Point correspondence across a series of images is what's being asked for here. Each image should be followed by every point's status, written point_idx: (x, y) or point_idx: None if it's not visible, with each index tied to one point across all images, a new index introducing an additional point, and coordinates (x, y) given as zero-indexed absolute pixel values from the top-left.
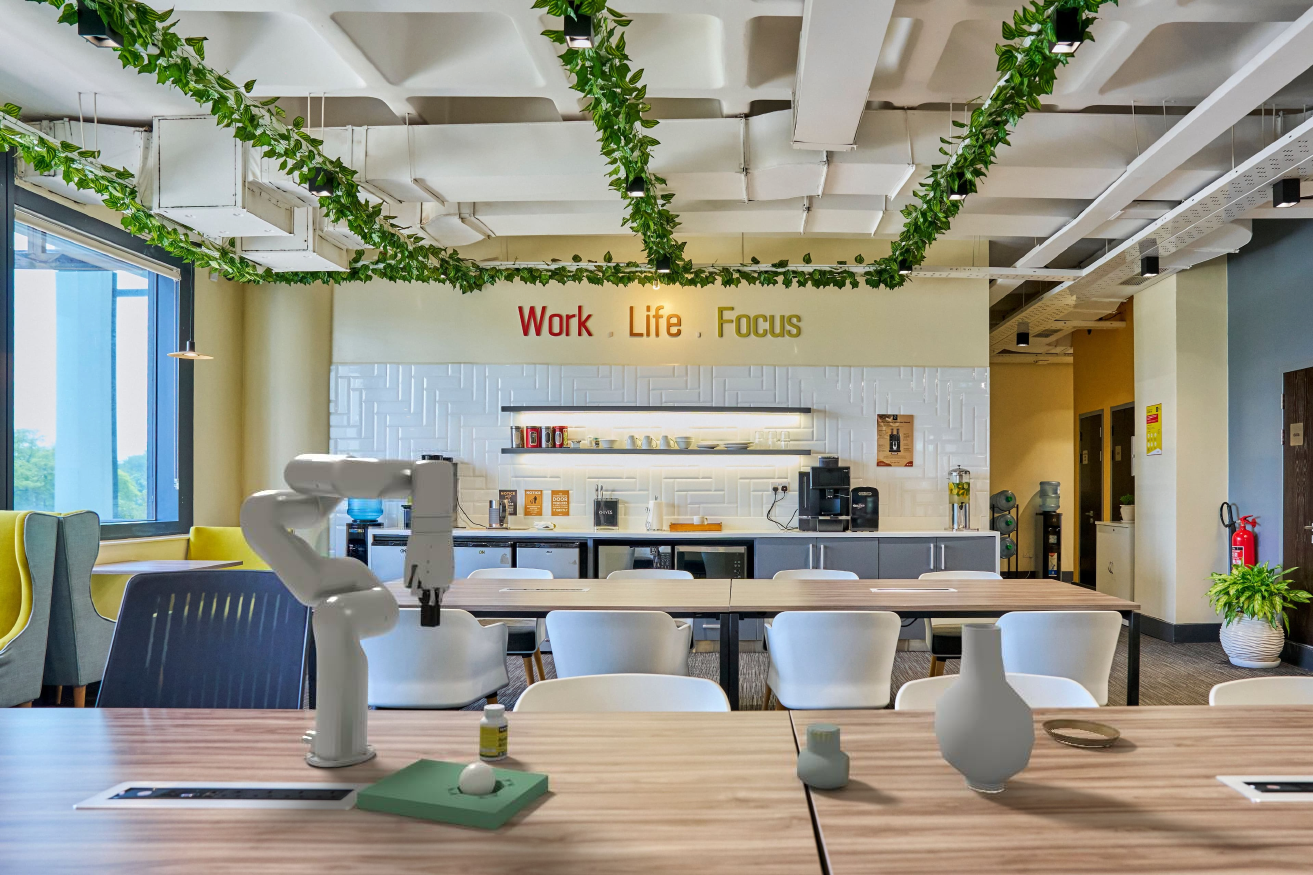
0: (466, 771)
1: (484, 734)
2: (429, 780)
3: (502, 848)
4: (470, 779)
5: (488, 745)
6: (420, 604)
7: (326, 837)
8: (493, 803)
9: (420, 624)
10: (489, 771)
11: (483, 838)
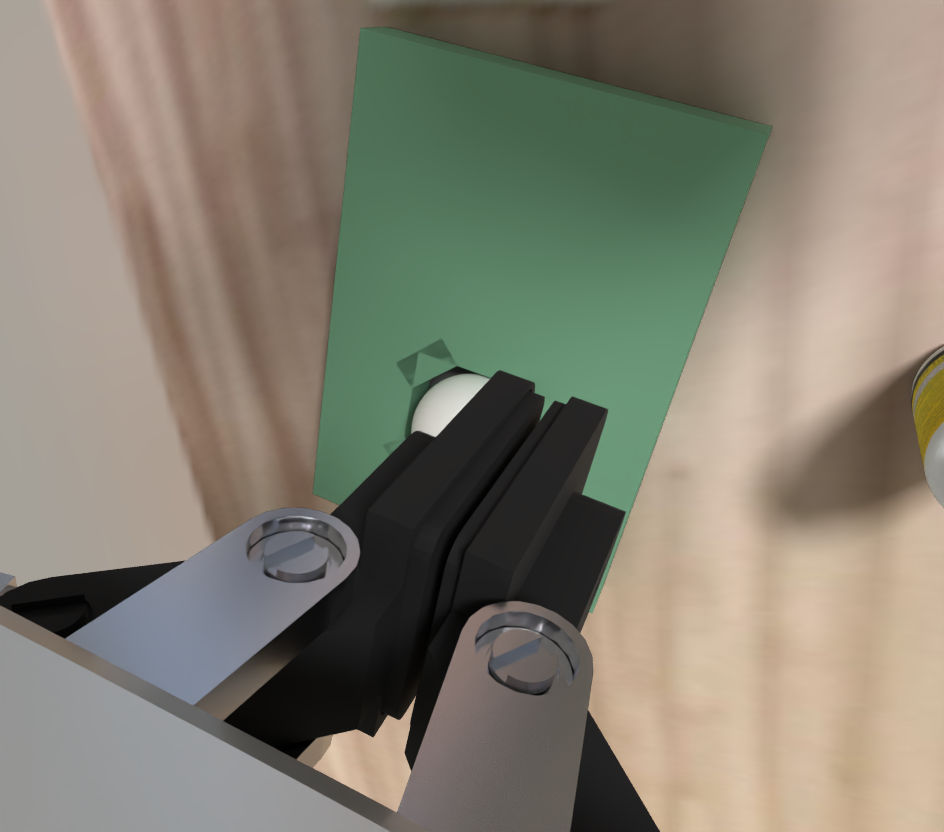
0: (423, 421)
1: (933, 409)
2: (506, 257)
3: (258, 496)
4: (411, 429)
5: (918, 407)
6: (289, 524)
7: (193, 50)
8: None
9: (499, 370)
10: None
11: (289, 454)
